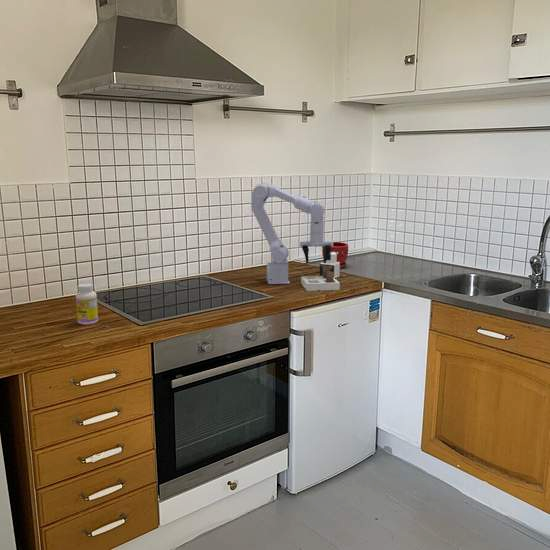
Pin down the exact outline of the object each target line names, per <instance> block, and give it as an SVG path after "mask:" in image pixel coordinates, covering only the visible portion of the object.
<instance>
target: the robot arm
mask: <svg viewBox="0 0 550 550" xmlns="http://www.w3.org/2000/svg"><path fill="white" fill-rule="evenodd" d="M275 197H277V198H279V199H280V200H283V201H286V202H287V203H290V204H293V206H294V208H295V209H297V210H300V211H301V212H303V213H305V214H310V222H309V223H310V224H309V225H310V226H309V227H310V228H309V240H308V241H299V247H301V249H302V251H303V254H304V258H305V263H306V264H309V262H310V261H309V254H310V252H309V251H310V249H309V247H322V246H324V258H323V257H322V258H323V261H322V262H323V263H326V260H327V257H328V254H329V252H330V250H331V247H333V242H334V241H325V240H324V228H325V221H324V219H325V217H324V214H325V206H324V205H323V204H322V203H320V202H317V201H316V200H311V199H309V198H307V196H306V195H298V196H296V195H293V194H291V193H289V192H287V191H286V190H284V189H281V188H280V187H277V186H275V185H272V184H271V185H269V184H268V183H265V182H264V183H259V184H257V185H256V186H254V188H253V190H252V192H251V203H250V204H251V206H250V207H251V211H252V213H253V215H254V217H255V219H256V221H257V223H258V225H259V227H260V229H261V231H262V234H263V235H264V237H265V239H266V242H267V243H268V245H269V251H270V253H271V254H270V255H271V262H267V264H266V282H267V284H268V285H278V284H279V285H281V284H283V285H284V284H285V285H286V284H289V285H290V284H291V281H290V280H289V260H288V259H287V258H288V257H289V253H290V252H289V249H288V248H287V247H286V246H285V245H284V244H283V242H282V241H281V239H280V238H279V237H278V234H277V231H276V230H275V228H274V226H273V224H272V222H271V220H270V217H269V215H268V214H267V212H266V210H265V207H264V206H265V204H266V201H267V199H268V198H275Z"/></svg>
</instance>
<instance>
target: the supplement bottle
mask: <svg viewBox="0 0 550 550" xmlns="http://www.w3.org/2000/svg"><path fill="white" fill-rule="evenodd" d="M77 288H78V292H77V293H76V294H75V302H76V303H75V306H76V319H77V323H78V324H79V325H85V326H87V325H88V326H89V325H93V324H96V323H98V322H99V313H98V312H99V311H98V296H97V293H96V292H95V291H93V290H94V284H93V283H80V284H78V286H77Z"/></svg>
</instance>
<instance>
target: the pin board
mask: <svg viewBox="0 0 550 550" xmlns="http://www.w3.org/2000/svg"><path fill="white" fill-rule="evenodd" d="M328 271H330V266H323V276H320V275H316V276H314V275H313V276H308V275H307V276H301V277H300V284H301V285H302V286H303V288H304V289H305V290H306V292H312V291H313V292H314V291H315V292H317V291H318V290H320V291H340V288H341V283H340V282H339V281H338V280H337V278H336V279H335V278H334V277H333V283H326V272H328Z"/></svg>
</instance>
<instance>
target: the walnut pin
mask: <svg viewBox="0 0 550 550" xmlns="http://www.w3.org/2000/svg"><path fill="white" fill-rule="evenodd" d="M333 276H334V272H331V271H328V272H326V283H333Z"/></svg>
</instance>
